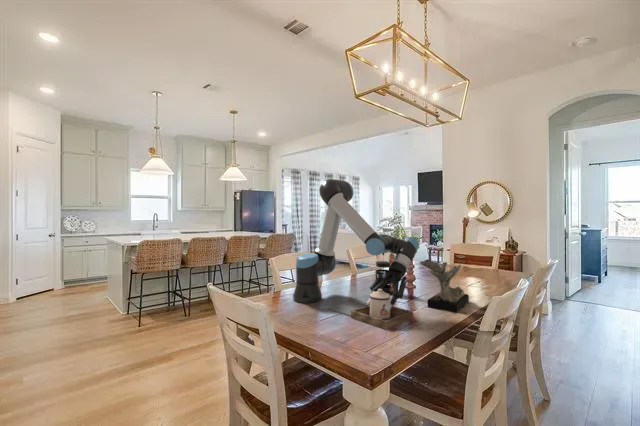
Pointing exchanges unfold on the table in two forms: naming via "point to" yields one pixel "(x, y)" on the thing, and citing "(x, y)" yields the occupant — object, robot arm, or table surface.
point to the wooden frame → (361, 315)
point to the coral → (446, 288)
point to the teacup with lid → (379, 304)
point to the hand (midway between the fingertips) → (377, 307)
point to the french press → (384, 264)
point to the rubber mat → (346, 308)
